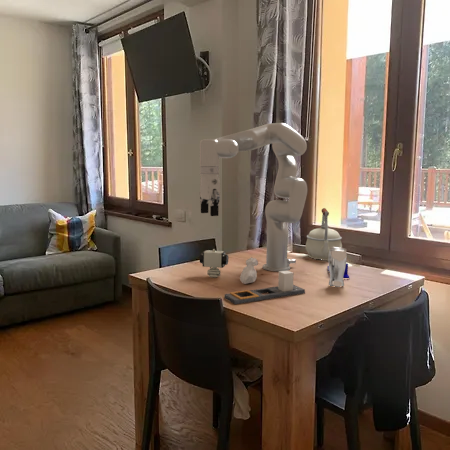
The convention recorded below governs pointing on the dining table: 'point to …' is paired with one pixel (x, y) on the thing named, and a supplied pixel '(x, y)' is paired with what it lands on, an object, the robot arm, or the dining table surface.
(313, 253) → the kettle
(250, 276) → the duck figurine
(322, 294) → the dining table surface
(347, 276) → the mounting bracket
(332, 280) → the beer glass
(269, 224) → the robot arm
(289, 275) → the peg
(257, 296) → the rail
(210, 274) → the pneumatic valve
